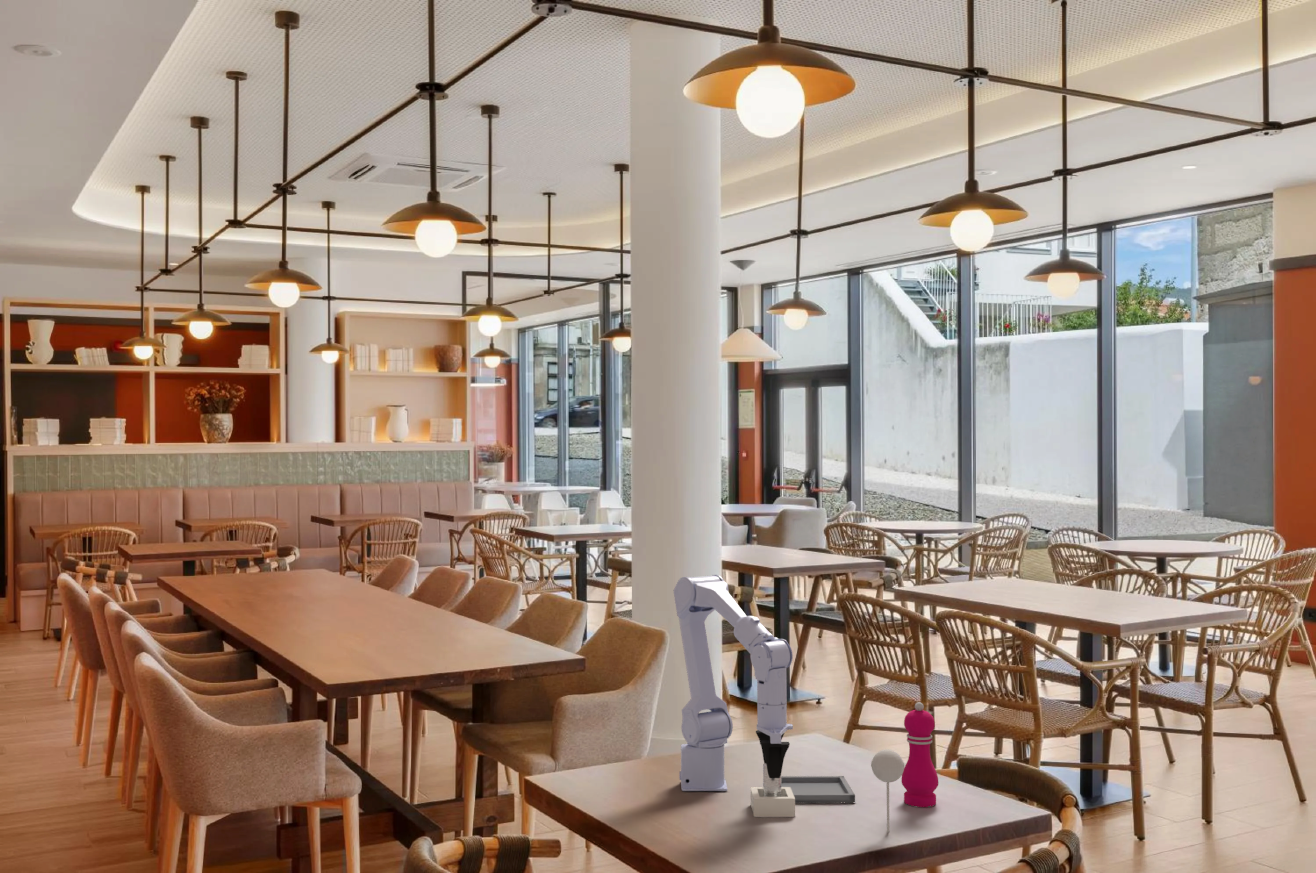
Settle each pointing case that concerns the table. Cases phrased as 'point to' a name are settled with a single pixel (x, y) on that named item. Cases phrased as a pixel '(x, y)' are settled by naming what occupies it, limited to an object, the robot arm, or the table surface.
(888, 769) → the lollipop
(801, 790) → the tray
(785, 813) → the white hollow block
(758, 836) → the table surface
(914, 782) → the pepper mill
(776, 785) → the steel pin
